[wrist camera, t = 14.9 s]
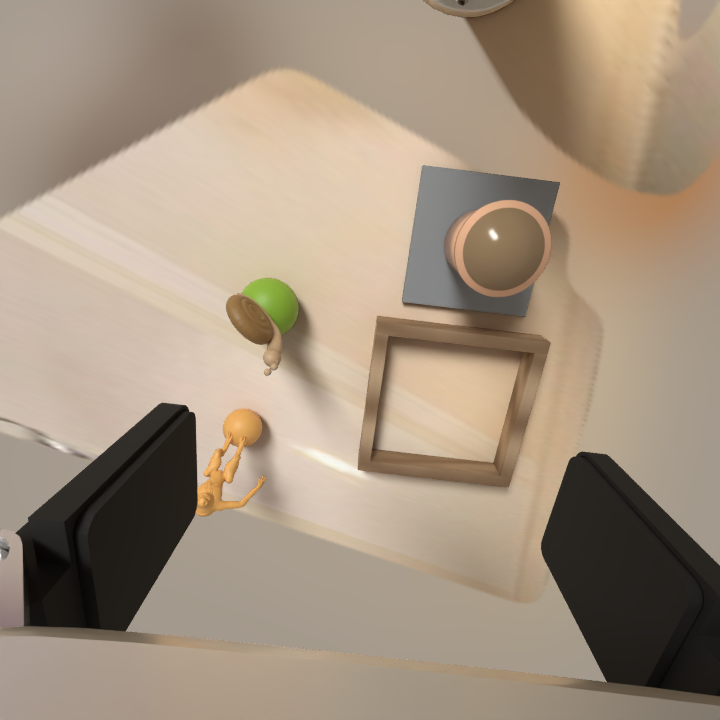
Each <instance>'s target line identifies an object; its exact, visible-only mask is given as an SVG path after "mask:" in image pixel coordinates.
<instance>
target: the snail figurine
mask: <svg viewBox="0 0 720 720" xmlns="http://www.w3.org/2000/svg"><path fill="white" fill-rule="evenodd" d="M226 310H227V314H228V316H229V319H230V320H231V322H232V324H233V325H234V326H235V328H236V329H237V330H238V331H239V332H240V333H241V334H242V335H243V336H244V337H245V338H246V339H248V340H249V341H251V342H253V343H255V344H259V345H263V344H267V343H268V346H267V351H266V352H265V353H264V355H263V360H264V362H265V364H266V365H267V366H269V367H270V369H265V370H264V374H265V375H266V376H268V375H270V374H271V370H273V371H274V370H276V369H277V368H278V365H279V363H280V361H281V356H280V355H281V351H282V338H281V335H282V334H284V333H286V332H287V331H288V330H290V329H291V327H292V326H293V325H294V323H295V322H296V319H297V316H298V311H299V306H298V301H297V298H296V295H295V293H294V292H293V290H292V289H291V288H290V287H289V286H288V285H287V284H285V283H284V282H282V281H280V280H277V279H273V278H262V279H258V280H256V281H254V282H252V283H250V284H249V285H248V286H247V287H246V288H245V289H244V290H243V292H242V294H241V293H237V295H233V296H231V297H230V298H229V299H228V301H227V303H226Z"/></svg>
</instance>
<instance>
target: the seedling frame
mask: <svg viewBox="0 0 720 720" xmlns="http://www.w3.org/2000/svg"><path fill="white" fill-rule="evenodd" d="M388 336H394V337H403V338H411V339H419V340H428V341H436V342H444V343H453V344H461V345H470V346H478V347H486V348H495V349H503V350H511V351H520V352H523V355H522V359H521V363H520V366H519V370H518V374H517V377H516V381H515V385H514V389H513V392H512V396H511V400H510V404H509V407H508V411H507V415H506V418H505V422H504V426H503V430H502V433H501V437H500V441H499V445H498V448H497V452H496V456H495V459H494V463H488V462H479V461H471V460H462V459H453V458H445V457H436V456H427V455H419V454H410V453H401V452H393V451H384V450H376V449H372V446H373V439H374V432H375V425H376V418H377V411H378V405H379V398H380V391H381V384H382V377H383V370H384V363H385V357H386V350H387V343H388ZM549 347H550V342H549V341H547V340H546V339H544V338H543V337H541V336H540V335H532V334H523V333H515V332H507V331H498V330H490V329H482V328H473V327H465V326H457V325H448V324H440V323H432V322H423V321H415V320H407V319H399V318H390V317H382V316H377V321H376V329H375V336H374V344H373V351H372V359H371V366H370V374H369V381H368V389H367V396H366V404H365V411H364V419H363V426H362V434H361V441H360V449H359V456H358V470H363V471H372V472H380V473H389V474H398V475H406V476H415V477H424V478H432V479H441V480H450V481H458V482H467V483H476V484H485V485H493V486H502V487H509V485H510V481H511V478H512V474H513V471H514V467H515V464H516V460H517V457H518V454H519V450H520V447H521V443H522V440H523V436H524V433H525V429H526V426H527V423H528V419H529V416H530V412H531V409H532V405H533V402H534V398H535V395H536V392H537V388H538V385H539V381H540V378H541V374H542V371H543V367H544V364H545V361H546V357H547V354H548V350H549Z"/></svg>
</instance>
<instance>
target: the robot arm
mask: <svg viewBox="0 0 720 720" xmlns="http://www.w3.org/2000/svg"><path fill="white" fill-rule="evenodd" d="M423 1H425V2H426V3H427V4H429V5H430V6H431V7H432V8H434V9H437V10H438V11H441V12H443V13H445V14H447V15H453V16H458V17H478V16H482V15H486V14H489V13H493V12H495V11H497V10H499V9H501V8H503V7H505V6H507V5H508V4H510V3H511V2H512V1H514V0H423ZM459 1H463V3H464V5H463V6H462V5H460V4H459V3H458V2H459ZM197 505H198V491H197V453H196V418H195V414H194V413H193V412H189V409H188V407H187V406H186V405H177V404H169V403H161V404H159V405H158V406H157V407H155V408H154V409H153V410H152V411H151V412H150V413H149V414H147V415H146V416H145V417H144V418H143V419H142V420H140V421H139V422H138V423H137V424H136V425H135V426H134V427H132V428H131V429H130V430H129V431H128V432H127V433H125V434H124V435H123V436H122V437H121V438H120V439H119V440H117V441H116V442H115V443H114V444H113V445H112V446H110V447H109V448H108V449H107V450H106V451H105V452H103V453H102V454H101V455H100V456H99V457H98V458H97V459H95V460H94V461H93V462H92V463H91V464H90V465H88V466H87V467H86V468H85V469H84V470H83V471H82V472H80V473H79V474H78V475H77V476H76V477H75V478H74V479H72V480H71V481H70V482H69V483H68V484H67V485H65V486H64V487H63V488H62V489H61V490H60V491H59V492H57V493H56V494H55V495H54V496H53V497H52V498H50V499H49V500H48V501H47V502H46V503H45V504H43V505H42V506H41V507H40V508H39V509H38V510H36V511H35V512H34V513H33V514H32V515H31V516H30V517H28V521H29V522H28V523H26V524H25V525H24V526H23V527H22V528H21V529H20V530H19V531H17V532H16V533H14V532H12V531H9V530H3V529H0V720H720V566H719V565H718V564H717V563H716V562H715V561H714V560H713V559H712V558H711V557H710V556H709V555H708V554H707V553H706V552H705V551H704V550H703V549H702V548H701V547H700V546H699V545H698V544H697V543H696V542H695V541H694V540H693V539H692V538H691V537H690V536H689V535H688V534H687V533H686V532H685V531H684V530H683V529H682V528H681V527H680V526H679V525H678V524H677V523H676V522H675V521H674V520H673V519H672V518H671V517H670V516H669V515H668V514H667V513H666V512H665V511H664V510H663V509H662V508H661V507H660V506H659V505H658V504H657V503H656V502H655V501H654V500H653V499H652V498H651V497H650V496H649V495H648V494H647V493H646V492H645V491H644V490H643V489H642V488H641V487H640V486H639V485H637V483H636V482H634V480H633V479H632V478H631V477H629V475H628V474H627V473H626V472H625V471H624V470H623V469H622V468H621V467H619V466H618V464H617V463H615V461H614V460H612V459H611V458H610V457H609V456H608V455H606V454H598V453H590V452H580V453H578V454H577V456H576V457H572V458H571V459H570V460H569V463H568V465H567V468H566V471H565V474H564V477H563V480H562V483H561V486H560V489H559V492H558V495H557V498H556V501H555V503H554V506H553V509H552V512H551V515H550V518H549V521H548V524H547V527H546V530H545V533H544V536H543V539H542V542H541V551H542V555H543V558H544V560H545V562H546V564H547V566H548V567H549V569H550V571H551V573H552V575H553V577H554V579H555V581H556V583H557V585H558V587H559V589H560V591H561V593H562V595H563V597H564V599H565V601H566V603H567V604H568V606H569V609H570V610H571V612H572V614H573V616H574V618H575V620H576V622H577V624H578V626H579V628H580V630H581V632H582V634H583V636H584V638H585V640H586V642H587V644H588V645H589V648H590V650H591V652H592V654H593V656H594V658H595V660H596V662H597V663H598V665H599V667H600V669H601V671H602V673H603V675H604V677H605V679H606V681H607V682H600V681H592V680H583V679H574V678H566V677H557V676H548V675H539V674H531V673H522V672H513V671H505V670H496V669H487V668H477V667H469V666H459V665H450V664H441V663H432V662H423V661H414V660H405V659H395V658H386V657H377V656H368V655H358V654H348V653H340V652H330V651H321V650H311V649H301V648H291V647H282V646H272V645H262V644H253V643H243V642H232V641H224V640H213V639H204V638H194V637H185V636H172V635H161V634H148V633H137V632H126V630H127V628H128V626H129V625H130V623H131V621H132V620H133V618H134V616H135V614H136V613H137V611H138V610H139V608H140V606H141V605H142V603H143V601H144V599H145V598H146V596H147V595H148V593H149V591H150V590H151V588H152V586H153V585H154V583H155V581H156V580H157V578H158V576H159V574H160V573H161V571H162V570H163V568H164V566H165V565H166V563H167V561H168V560H169V558H170V556H171V554H172V553H173V551H174V549H175V548H176V546H177V544H178V543H179V541H180V539H181V538H182V536H183V534H184V533H185V531H186V529H187V528H188V526H189V524H190V523H191V521H192V519H193V518H194V516H195V513H196V510H197Z"/></svg>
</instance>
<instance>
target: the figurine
mask: <svg viewBox="0 0 720 720" xmlns="http://www.w3.org/2000/svg"><path fill="white" fill-rule="evenodd" d="M223 433H224V436H225V438H226V441H225V444H224V446H223V448H222V449H217V450H215V452H214V454H213V456H212V457H211V460H210V462H209V465H208V467H207V469H206V470H205V471H204V476H206V477H210V478H209V480H207V481H206V482H205V483H203V484H202V485H201V486H200V487H199V488H198V489H197V491H198V505H197V510H196V514H198V515H199V516H209V515H210V514H212V513H213V512H214V511H221V510H224V509H233V508H240V507H243V506H244V505H245V504H246V503H247V502H248V500H249V499H250V498H251V497H252V496H253V495H254V494H255V493H256V492H257V491H258V490H259V489H260V488H261V487H262V485H263V484H264V482H265V477H264V479H263V476H262V478H261V481H260V479H258V486H256V487H255V488H254V489H252V490H251V491H250V492H249V493H248V494H247V496H245V497H244V498H243V499H242V501H240V502H238V501H222V499H221V497H222V486H223V482H224V481H226V482H227V483H231V482H232V481H233V478H234V474H235V472H236V470H237V468H238V465H239V460H240V458H241V457H240V454H241V452H242V450H243V447H247V446H250V445H252V444H253V443H255V442H256V441H257V440H258V439H259V437H260V435H261V433H262V422H261V419H260V417H259V416H258V415H257V414H256V413H255V412H253V411H252V410H249V409H238V410H235V411H233V412H232V413H230V414H229V415H228V416H227V418H226V419H225V421H224V424H223ZM230 444H232V445H234V446H237V447H238V449H237V452H236V455H234V457H233V458H232V460H231V461H229V462H228V463H227V464H226V466H225V469H224V472H223V471H222V470H218V468H219V467H220V465H221V457H222V456H224V454H225V452H226V451H227V449H228V447H229V445H230ZM262 479H263V480H262Z"/></svg>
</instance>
